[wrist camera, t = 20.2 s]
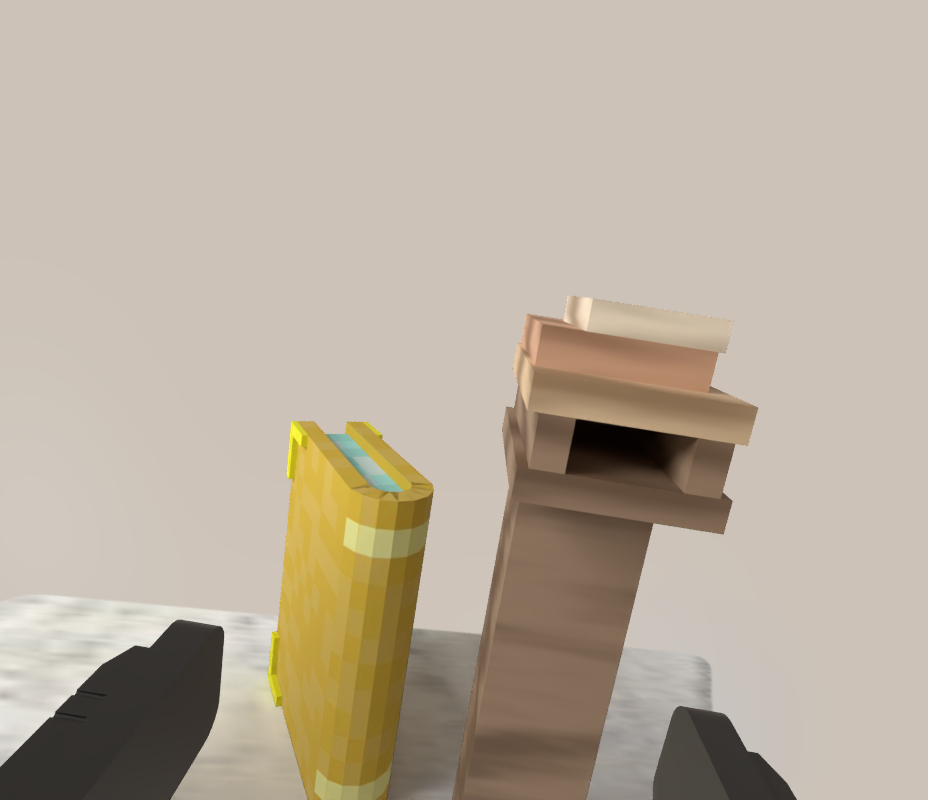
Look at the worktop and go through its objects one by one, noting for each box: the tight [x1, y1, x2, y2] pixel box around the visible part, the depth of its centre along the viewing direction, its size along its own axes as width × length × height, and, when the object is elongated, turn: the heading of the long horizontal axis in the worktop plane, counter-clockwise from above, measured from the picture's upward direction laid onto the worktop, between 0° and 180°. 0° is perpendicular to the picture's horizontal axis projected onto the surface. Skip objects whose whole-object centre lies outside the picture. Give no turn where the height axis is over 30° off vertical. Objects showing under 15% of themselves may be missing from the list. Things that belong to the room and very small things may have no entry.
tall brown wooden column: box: [452, 296, 758, 800], centre depth 31 cm, size 12×9×39 cm
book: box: [268, 421, 434, 800], centre depth 43 cm, size 17×7×25 cm, turn 29°
